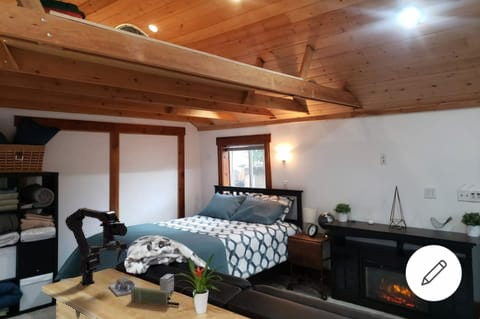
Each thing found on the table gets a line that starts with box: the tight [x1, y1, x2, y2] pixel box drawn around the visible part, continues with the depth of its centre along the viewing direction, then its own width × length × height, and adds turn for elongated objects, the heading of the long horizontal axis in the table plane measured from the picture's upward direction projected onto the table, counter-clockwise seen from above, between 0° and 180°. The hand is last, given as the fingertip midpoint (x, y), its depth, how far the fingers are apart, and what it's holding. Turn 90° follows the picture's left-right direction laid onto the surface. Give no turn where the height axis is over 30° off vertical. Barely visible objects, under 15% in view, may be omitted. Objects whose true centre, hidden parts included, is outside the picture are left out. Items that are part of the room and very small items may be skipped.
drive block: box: [116, 277, 134, 291], centre depth 183 cm, size 9×5×4 cm, turn 44°
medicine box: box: [159, 273, 175, 295], centre depth 178 cm, size 8×4×9 cm, turn 169°
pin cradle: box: [108, 278, 139, 297], centre depth 183 cm, size 16×12×4 cm
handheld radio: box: [130, 286, 180, 307], centre depth 164 cm, size 7×3×25 cm
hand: (108, 263), depth 188 cm, fingers open, 9 cm apart
